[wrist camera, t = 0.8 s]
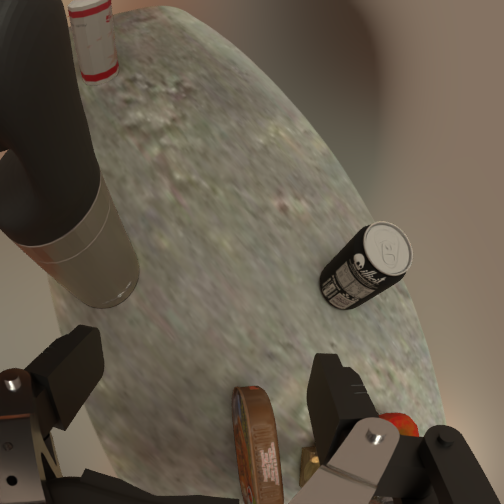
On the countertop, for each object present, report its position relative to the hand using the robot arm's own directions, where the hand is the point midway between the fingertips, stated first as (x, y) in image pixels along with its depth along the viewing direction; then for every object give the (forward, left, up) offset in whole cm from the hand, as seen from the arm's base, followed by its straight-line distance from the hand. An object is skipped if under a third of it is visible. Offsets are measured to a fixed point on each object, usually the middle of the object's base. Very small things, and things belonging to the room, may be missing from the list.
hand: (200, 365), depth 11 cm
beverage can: (+3, +20, -24) cm, 32 cm away
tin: (+10, -2, -24) cm, 26 cm away
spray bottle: (-56, +16, -24) cm, 63 cm away
